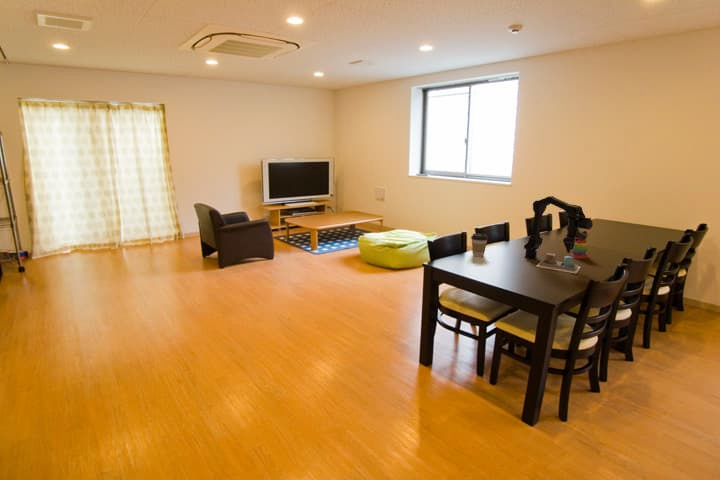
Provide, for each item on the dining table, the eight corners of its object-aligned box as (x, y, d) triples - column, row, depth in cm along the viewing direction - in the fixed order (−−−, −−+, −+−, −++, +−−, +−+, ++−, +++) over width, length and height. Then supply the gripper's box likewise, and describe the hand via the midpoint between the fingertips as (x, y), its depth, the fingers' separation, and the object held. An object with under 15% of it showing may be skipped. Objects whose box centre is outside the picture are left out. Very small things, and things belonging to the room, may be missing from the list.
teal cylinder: (562, 268, 253) (563, 257, 251) (564, 266, 257) (565, 255, 255) (571, 269, 250) (572, 258, 248) (572, 267, 254) (574, 256, 252)
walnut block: (544, 265, 259) (545, 254, 257) (546, 263, 263) (547, 252, 261) (552, 266, 256) (554, 255, 254) (554, 264, 260) (556, 254, 258)
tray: (536, 266, 258) (536, 262, 257) (541, 261, 269) (542, 257, 268) (576, 273, 244) (576, 269, 244) (580, 267, 255) (581, 264, 255)
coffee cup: (487, 258, 275) (489, 237, 271) (470, 257, 277) (471, 236, 273) (485, 254, 285) (487, 233, 282) (469, 253, 288) (470, 232, 284)
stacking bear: (576, 259, 274) (580, 233, 269) (566, 255, 283) (569, 230, 279) (590, 258, 276) (594, 233, 271) (580, 254, 285) (583, 229, 281)
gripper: (585, 230, 235) (581, 256, 239) (590, 225, 249) (587, 250, 253) (564, 228, 241) (561, 253, 245) (570, 223, 256) (567, 247, 260)
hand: (569, 251), depth 251 cm, fingers open, 9 cm apart
